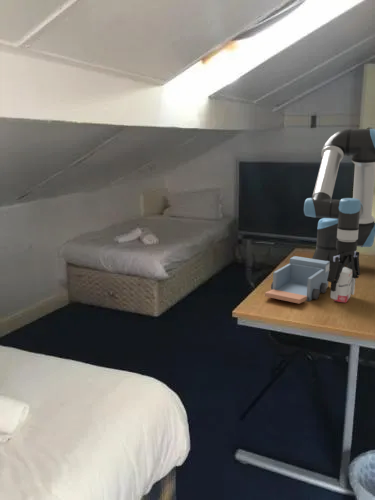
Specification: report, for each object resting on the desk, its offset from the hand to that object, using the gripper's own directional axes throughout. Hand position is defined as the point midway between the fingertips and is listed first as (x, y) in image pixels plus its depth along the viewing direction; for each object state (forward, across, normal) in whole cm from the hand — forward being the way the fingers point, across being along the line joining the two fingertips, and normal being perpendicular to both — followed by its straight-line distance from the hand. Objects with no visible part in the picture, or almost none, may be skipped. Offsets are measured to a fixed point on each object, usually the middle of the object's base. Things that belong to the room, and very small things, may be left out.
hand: (342, 296), depth 183 cm
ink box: (+1, 0, 0) cm, 1 cm away
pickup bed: (+1, +5, -16) cm, 17 cm away
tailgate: (0, +16, -12) cm, 20 cm away
